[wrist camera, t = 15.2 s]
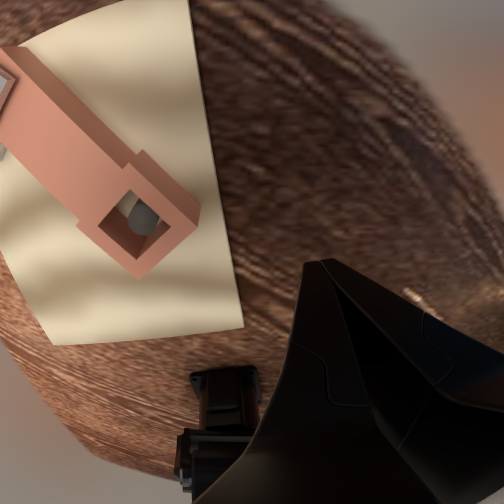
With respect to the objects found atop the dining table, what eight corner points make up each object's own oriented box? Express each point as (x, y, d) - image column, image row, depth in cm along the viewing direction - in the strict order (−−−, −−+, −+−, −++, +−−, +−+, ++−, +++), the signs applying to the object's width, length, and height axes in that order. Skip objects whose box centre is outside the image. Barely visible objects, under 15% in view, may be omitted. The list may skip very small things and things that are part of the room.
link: (200, 205, 19) (197, 227, 17) (148, 254, 21) (139, 280, 18) (30, 40, 12) (4, 38, 10) (-10, 102, 14) (-37, 109, 11)
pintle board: (243, 317, 26) (247, 358, 22) (57, 336, 26) (42, 370, 22) (187, -10, 13) (177, -33, 10) (-38, 86, 13) (-76, 96, 9)
